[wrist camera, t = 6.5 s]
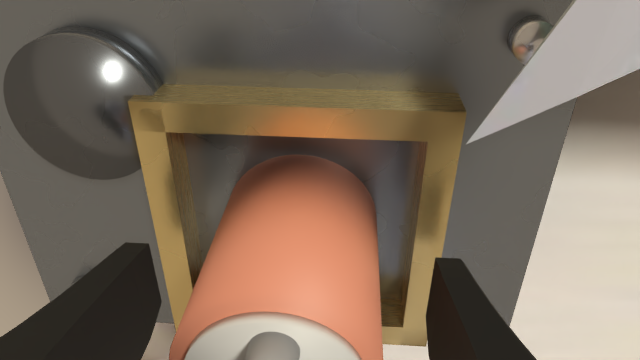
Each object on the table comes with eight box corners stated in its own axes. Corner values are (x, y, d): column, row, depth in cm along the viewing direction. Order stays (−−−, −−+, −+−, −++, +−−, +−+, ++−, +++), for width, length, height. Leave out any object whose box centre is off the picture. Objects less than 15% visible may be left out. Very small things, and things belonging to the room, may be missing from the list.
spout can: (368, 281, 16) (372, 523, 10) (230, 268, 16) (155, 501, 10) (386, 161, 14) (405, 385, 8) (224, 148, 14) (122, 358, 8)
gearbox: (486, 281, 20) (514, 371, 16) (93, 261, 21) (38, 343, 17) (566, -49, 14) (640, -19, 10) (-4, -58, 14) (-123, -34, 11)
